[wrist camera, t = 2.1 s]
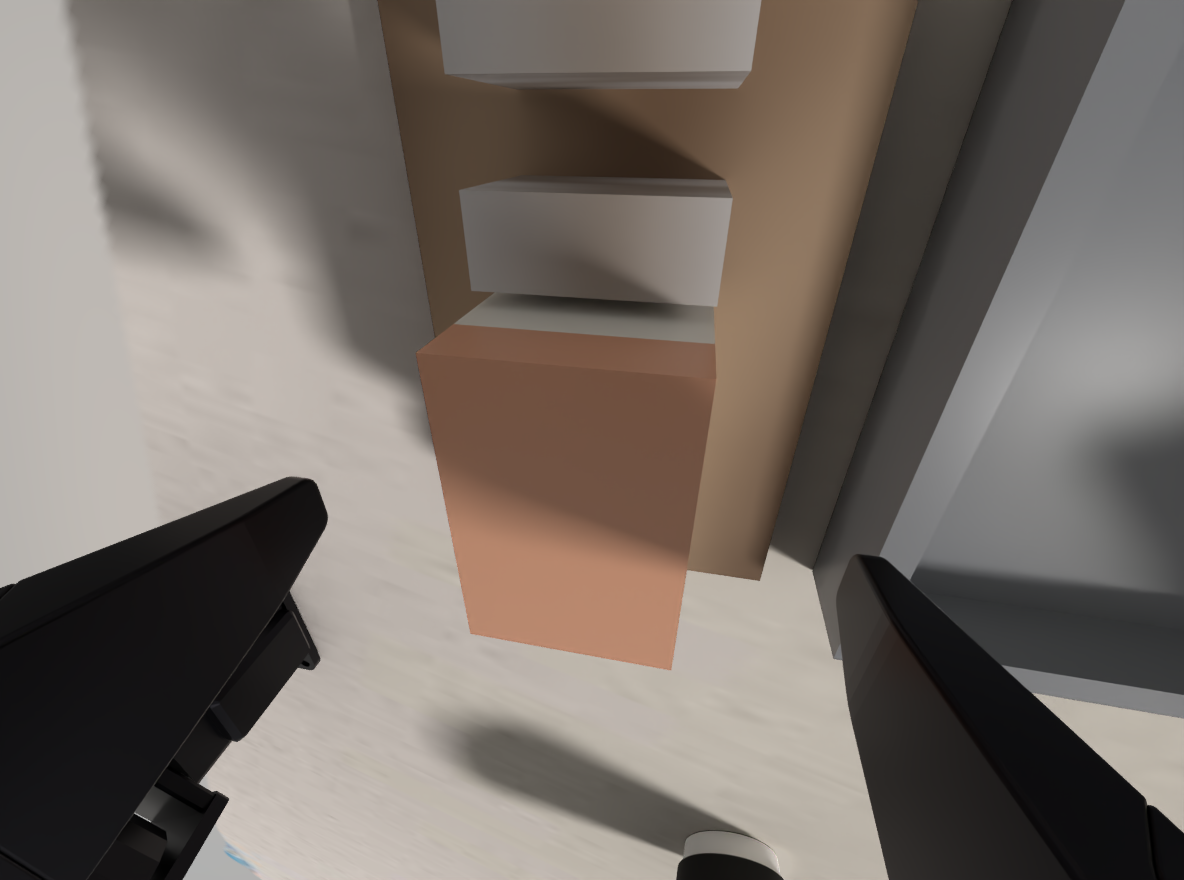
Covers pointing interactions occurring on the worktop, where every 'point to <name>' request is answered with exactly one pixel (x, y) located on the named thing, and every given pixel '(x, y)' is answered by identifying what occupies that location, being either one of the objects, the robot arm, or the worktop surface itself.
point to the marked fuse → (573, 466)
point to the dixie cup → (727, 858)
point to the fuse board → (657, 187)
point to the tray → (1046, 370)
